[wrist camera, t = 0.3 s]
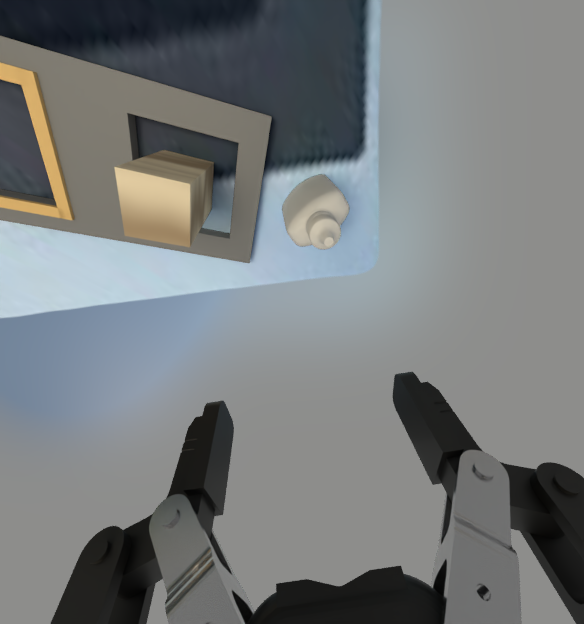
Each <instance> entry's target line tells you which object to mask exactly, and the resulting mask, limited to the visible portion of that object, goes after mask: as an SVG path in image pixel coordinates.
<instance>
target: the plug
mask: <svg viewBox="0 0 584 624" xmlns="http://www.w3.org/2000/svg"><path fill="white" fill-rule="evenodd" d="M114 168H115V175H116V181H117V188H118V194H119V201H120V207H121V214H122V220H123V227H124V234H125V236H129V237H135V238H140V239H146V240H151V241H157V242H163V243H168V244H174V245H180V246H185V247H191V245H192V243H193V241H194V240H195V238H196V236H197V234H198V233H199V231H200V229H201V227H202V225H203V224H204V222H205V220H206V218H207V217H208V215H209V213H210V211H211V210H212V192H213V172H214V162H211V161H207V160H203V159H199V158H195V157H191V156H187V155H183V154H179V153H175V152H171V151H167V150H162V151H159V152H157V153H154V154H151V155H148V156H145V157H142V158H139V159H136V160H133V161H130V162H127V163H124V164H121V165H118V166H115V167H114Z"/></svg>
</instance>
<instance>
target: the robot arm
mask: <svg viewBox="0 0 584 624" xmlns="http://www.w3.org/2000/svg"><path fill="white" fill-rule="evenodd" d="M393 402H394V405H395V408H396V411H397V413H398V415H399V417H400V419H401V421H402V423H403V425H404V427H405V429H406V431H407V433H408V435H409V437H410V439H411V441H412V443H413V445H414V447H415V449H416V452H417V454H418V456H419V458H420V460H421V462H422V464H423V466H424V468H425V470H426V472H427V474H428V476H429V478H430V480H431V482H432V484H433V485H434V484H440V483H442V485H443V487H444V488H445V490H446V497H445V504H444V511H443V519H442V525H441V532H440V539H439V546H438V551H437V555H436V559H435V564H434V569H433V575H432V582H431V586H429V585H428V584H426V583H425V582H423V581H421V580H419V579H417V578H415V577H412V576H410V575H406V574H403V571H402V568H401V566H396V567H389V568H382V569H376V570H370V571H368V572H366V573H364V574H363V575H361V576H359V577H357V578H355V579H354V580H352V581H350V582H349V583H347V584H345V585H343V586H333V585H329V584H325V583H320V582H316V581H312V580H307V579H306V580H299V581H292V582H285V583H279V584H276V591H277V592H276V593H274V594H272V595H271V596H270V597H269V598H267V599H266V600H265V601H264V602H263V603H262V604H261V605H260V606H259V607H258V608H257V610H256V611H254V610H253V607H252V605H251V603H250V601H249V599H248V597H247V596H246V594H245V592H244V590H243V588H242V587H241V585H240V583H239V581H238V580H237V578H236V576H235V574H234V573H233V571H232V568H231V566H230V564H229V562H228V560H227V558H226V556H225V554H224V552H223V550H222V548H221V546H220V544H219V542H218V540H217V538H216V536H215V534H214V532H213V530H212V526H213V519H214V516H218V515H223V510H224V502H225V495H226V487H227V479H228V471H229V464H230V456H231V448H232V441H233V432H234V427H233V421H232V418H231V416H230V414H229V411H228V409H227V407H226V405H225V402H224V401H218V402H211V403H207V404H206V406H205V408H204V412H203V416H200V417H196V418H195V419H194V421H193V422H192V424H191V425H190V426H189V428H188V431H187V434H186V437H185V443H184V444H183V448H182V453H181V454H180V458H179V461H178V464H177V468H176V471H175V474H174V478H173V481H172V485H171V488H170V491H169V494H168V496H167V498H166V499H165V500H164V501H163V502H162V503H161V504H160V505H159V506H158V507H157V508H156V510H155V512H154V513H153V514H152V515H150V516H149V517H147V518H146V519H143V520H142V521H140V522H138V523H136V524H134V525H132V526H130V527H128V528H126V529H125V530H122V529H120V528H119V527H116V526H110V527H107V528H105V529H103V530H102V531H100V532H99V533H97V534H96V535H95V536H94V537H93V538H92V539H91V540H90V541H89V542H88V544H87V545H86V546H85V548H84V550H83V551H82V553H81V555H80V557H79V559H78V561H77V563H76V566H75V568H74V570H73V573H72V575H71V577H70V580H69V582H68V584H67V587H66V589H65V591H64V594H63V596H62V598H61V601H60V603H59V605H58V608H57V610H56V612H55V615H54V617H53V619H52V622H51V624H146V623H147V618H148V614H149V609H150V605H151V601H152V596H153V592H154V587H155V583H156V582H158V581H160V580H161V579H163V580H164V583H165V587H166V590H167V595H168V597H167V600H166V602H165V608H166V614H167V618H168V622H169V624H521V602H520V578H519V562H518V557H517V553H516V552H515V550H513V548H512V545H511V529H514V530H519V531H520V532H521V533H522V535H523V537H524V538H525V540H526V541H527V543H528V545H529V546H530V548H531V550H532V551H533V553H534V555H535V556H536V558H537V560H538V561H539V563H540V564H541V566H542V568H543V569H544V571H545V573H546V575H547V576H548V578H549V579H550V581H551V583H552V584H553V586H554V588H555V589H556V591H557V593H558V594H559V596H560V597H561V599H562V601H563V602H564V604H565V606H566V607H567V609H568V611H569V612H570V614H571V616H572V617H573V619H574V621H575V622H576V624H584V478H583V477H582V476H581V475H579V474H578V473H576V472H575V471H573V470H571V469H569V468H568V467H565V466H563V465H560V464H557V463H543V464H541V465H539V466H538V468H537V469H530V468H524V467H519V466H513V465H507V464H504V463H501V462H499V461H498V460H497V459H495V458H494V457H493V456H491V455H489V454H487V453H485V452H483V451H482V450H481V449H480V448H479V446H478V445H477V444H476V442H475V441H474V440H473V438H472V437H471V435H470V434H469V432H468V431H467V430H466V428H465V427H464V425H463V424H462V423H461V421H460V420H459V418H458V417H457V415H456V414H455V413H454V412H453V411H452V409H451V407H450V406H449V404H448V403H447V402H446V400H445V399H444V397H443V396H442V394H441V393H440V392H439V390H438V389H436V388H435V387H434V386H432V385H431V384H430V383H428V382H423V383H421V382H420V381H419V379H418V378H417V376H416V375H415V374H414V373H413V372H408V373H401V374H396V375H395V378H394V388H393Z"/></svg>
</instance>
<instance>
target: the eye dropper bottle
mask: <svg viewBox="0 0 584 624" xmlns="http://www.w3.org/2000/svg"><path fill="white" fill-rule="evenodd" d="M349 209H350V208H349V204H348V202H347V201H346V199H345V197H344V195H343V194H342V192H341V191H340V190H339V189H338V188H337V187H336V186H335V185H334V184H333V183H332V182H331V181H330V180H329V179H328V178H327V177H326V176H325V175H322V174H321V175H316V176H313V177H311V178H308V179H307V180H305V181H303V182H302V183H300V184H299V185H298V186H296V187H295V188H294V189H293V190H292V191H291V193H290V194H289V195H288V197H287V198H286V200H285V202H284V204H283V206H282V211H283V217H284V222H285V227H286V230H287V233H288V235H289V236H290V238H291V239H292V240H293V241H294V243H295V244H296V245H298V246H301V247H303V246H309V245H313V246H314V247H317V248H318V249H324V250H325V249H328V248H331V247H333V246H334V245H335V244H336V243H337V242H338V240H339V239H340V234H341V228H340V225H341V224H342V223H343V221H344V220H345V218H346V217H347V215H348V213H349Z"/></svg>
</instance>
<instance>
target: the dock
mask: <svg viewBox="0 0 584 624" xmlns="http://www.w3.org/2000/svg"><path fill="white" fill-rule="evenodd" d="M0 79H1V80H5V81H8V82H12V83H16V84H20V85H22V88H23V92H24V95H25V98H26V102H27V105H28V109H29V112H30V116H31V119H32V122H33V126H34V129H35V133H36V136H37V140H38V143H39V146H40V150H41V153H42V157H43V160H44V163H45V167H46V170H47V174H48V177H49V181H50V184H51V187H52V191H53V194H54V198H55V200H54V199H49V198H44V197H39V196H34V195H29V194H24V193H18V192H13V191H8V190H3V189H0V220H3V221H9V222H15V223H20V224H26V225H32V226H38V227H43V228H49V229H55V230H61V231H66V232H72V233H78V234H84V235H89V236H95V237H101V238H107V239H112V240H118V241H124V242H130V243H136V244H141V245H147V246H153V247H159V248H164V249H170V250H176V251H182V252H187V253H193V254H199V255H205V256H210V257H216V258H222V259H228V260H233V261H239V262H245V263H250V256H251V250H252V243H253V236H254V230H255V223H256V217H257V210H258V204H259V197H260V191H261V184H262V177H263V171H264V164H265V158H266V151H267V145H268V138H269V131H270V125H271V118H272V117H271V116H268V115H264V114H261V113H258V112H254V111H251V110H248V109H244V108H241V107H238V106H234V105H231V104H227V103H224V102H221V101H217V100H214V99H211V98H207V97H204V96H201V95H197V94H194V93H191V92H187V91H184V90H180V89H177V88H174V87H170V86H167V85H164V84H160V83H157V82H154V81H150V80H147V79H143V78H140V77H137V76H133V75H130V74H127V73H123V72H120V71H117V70H113V69H110V68H107V67H103V66H100V65H96V64H93V63H90V62H86V61H83V60H80V59H76V58H73V57H70V56H66V55H63V54H59V53H56V52H53V51H49V50H46V49H43V48H39V47H36V46H33V45H29V44H26V43H23V42H19V41H16V40H12V39H9V38H6V37H2V36H0ZM135 115H137V116H141V117H144V118H148V119H152V120H156V121H159V122H163V123H167V124H171V125H174V126H178V127H182V128H185V129H189V130H193V131H197V132H200V133H204V134H208V135H211V136H215V137H219V138H223V139H226V140H230V141H234V142H238V143H239V146H238V156H237V167H236V177H235V188H234V198H233V208H232V219H231V229H230V234H229V233H224V232H219V231H214V230H209V229H204V228H201V229H200V231H199V233H198V234H197V236H196V238H195V240H194V241H193V243H192V245H191V247H185V246H180V245H174V244H168V243H163V242H157V241H151V240H146V239H140V238H135V237H129V236H125V234H124V227H123V220H122V214H121V207H120V201H119V194H118V188H117V181H116V175H115V168H114V167H115V166H118V165H121V164H124V163H127V162H130V161H133V160H136V159H139V152H138V142H137V132H136V122H135Z"/></svg>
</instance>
